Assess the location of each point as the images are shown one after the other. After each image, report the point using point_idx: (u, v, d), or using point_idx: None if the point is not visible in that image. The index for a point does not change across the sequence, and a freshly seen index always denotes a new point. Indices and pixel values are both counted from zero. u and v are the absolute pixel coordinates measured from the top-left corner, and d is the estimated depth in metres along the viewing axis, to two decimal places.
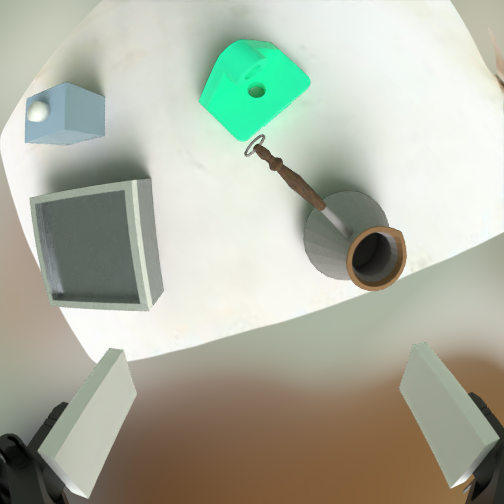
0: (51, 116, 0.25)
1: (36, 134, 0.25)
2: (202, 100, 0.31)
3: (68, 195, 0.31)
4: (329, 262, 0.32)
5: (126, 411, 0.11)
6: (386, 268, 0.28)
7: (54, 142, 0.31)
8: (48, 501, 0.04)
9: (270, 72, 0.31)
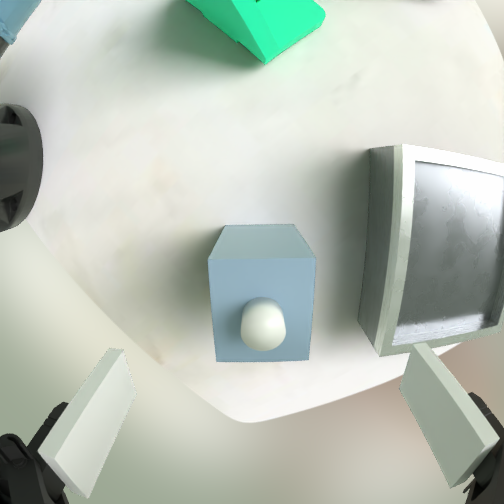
0: (277, 293, 0.17)
1: (302, 331, 0.17)
2: (266, 49, 0.19)
3: (402, 272, 0.20)
4: None
5: (126, 411, 0.11)
6: None
7: None
8: (48, 501, 0.04)
9: None
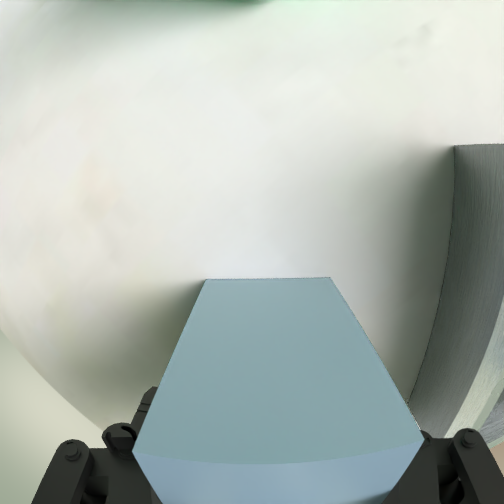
0: (313, 500, 0.05)
1: None
2: None
3: None
4: None
5: None
6: None
7: None
8: (154, 497, 0.05)
9: None
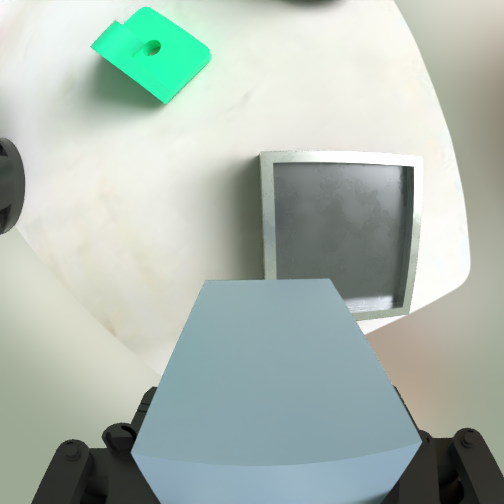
0: (311, 502, 0.05)
1: None
2: (160, 95, 0.26)
3: (272, 255, 0.27)
4: None
5: None
6: None
7: None
8: (154, 497, 0.05)
9: None
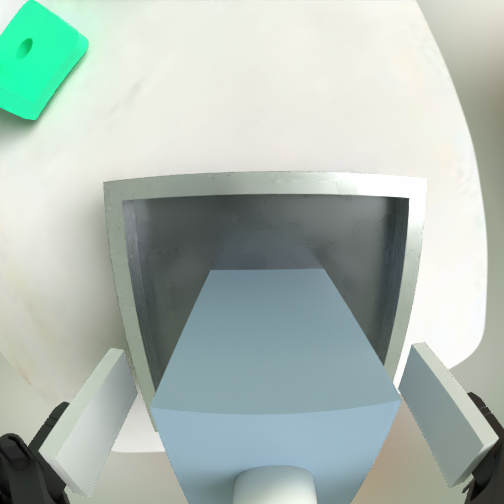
0: (306, 459, 0.06)
1: (344, 491, 0.07)
2: (20, 110, 0.15)
3: (139, 350, 0.15)
4: None
5: (127, 411, 0.11)
6: None
7: None
8: (49, 501, 0.04)
9: (10, 44, 0.13)
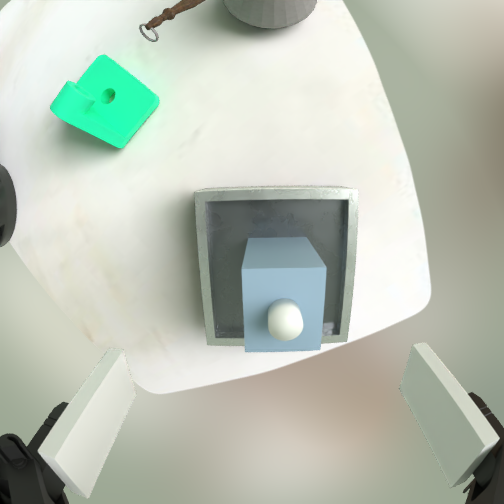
0: (295, 295, 0.21)
1: (315, 326, 0.22)
2: (115, 142, 0.30)
3: (207, 283, 0.30)
4: None
5: (126, 411, 0.11)
6: None
7: None
8: (48, 501, 0.04)
9: (92, 89, 0.29)
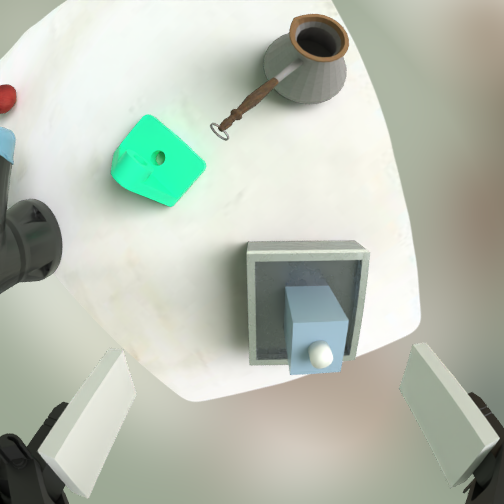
0: (327, 338, 0.30)
1: (338, 356, 0.31)
2: (169, 203, 0.38)
3: (253, 321, 0.39)
4: (328, 80, 0.30)
5: (126, 411, 0.11)
6: (329, 31, 0.25)
7: None
8: (48, 501, 0.04)
9: (141, 148, 0.37)
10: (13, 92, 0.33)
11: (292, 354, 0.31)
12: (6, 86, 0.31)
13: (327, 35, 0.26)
